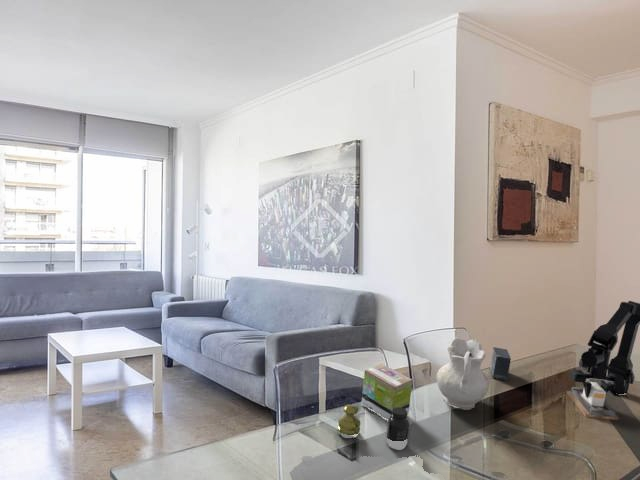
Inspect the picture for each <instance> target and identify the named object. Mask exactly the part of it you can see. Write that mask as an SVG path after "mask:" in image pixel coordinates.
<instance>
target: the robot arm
mask: <svg viewBox="0 0 640 480" xmlns="http://www.w3.org/2000/svg"><path fill="white" fill-rule="evenodd" d="M639 326H640V302H635V301H633V300H629V301H621V302H620V304H619V306H618V309H617V310H616V311H615V313H614V314H612V316H611V317H610V319H609V320H608V322H606V323H605V324H600V325H599V326H598V327H597V328H596V329H595V330H594V331H593V332H592V334H591V336H590V338H589V340H588V342H587V346H589V348H588V350H587V351H584V352H583V353H582V355H581V356H580V359H579V361H578V367H579V368H583V370H585V371H586V372H587V373H584V371H582V370H581V369H573V368H572V369H570V371H569V376H570V378H571V379H572V380H573V381H574V382H576V383H581V384H582V385H583V388H584V390H585V395H586V397H587V398H588V396H589V393H590V389H591V385H592V384H591V383H590V382H591V380H592V381H593V380H595V381H600V387H601V388H602V389H603V390H604V391H605V392H606V394H607V393H608V392H610V393H611V394H612V395H613V396H618V394H624V393H627V394H628V393H629V392H628V391H629V389H630V388H629V387H630V384H631V385H633V384H634V381H635V378H636V377H635V373H634V371H633V368H634V365H633V362H632V359H631V356H632V353H633V349H634V346H635V345H634V344H635V342H636V338H637V333H638V330H639ZM622 328H623V331H622V334H621V339H620V343H619V347H618V351H617V355H616V356H615V357H613V358H611V353H612V351H613V350H614V349H615V347H616V346H617V344H618V339H619V336H618V335H619V334H618V333H619V332H620V331H621V329H622ZM616 393H617V394H616Z"/></svg>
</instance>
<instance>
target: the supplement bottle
mask: <svg viewBox="0 0 640 480" xmlns="http://www.w3.org/2000/svg"><path fill="white" fill-rule="evenodd" d="M409 430H410V420H409V419H408V416H407V410H405V409H404V408H400V407H397V408H394V409H393V410H392V416H390V418H389V420H388V422H387V431H386V439H387V438H388V439H390V440H392V441H404V440H406V439H408V440H409V432H410V431H409Z"/></svg>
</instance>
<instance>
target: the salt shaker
mask: <svg viewBox="0 0 640 480" xmlns="http://www.w3.org/2000/svg"><path fill="white" fill-rule="evenodd" d="M342 409H343V410H342V411H343V412H344V413H345V414H344V415H342V416H340V417H339V418H338V421H337V422H338V425H337V432H338V431H339V432H340V433H343V434H347V435H354V434H358V433H359V434H360V433H361V432H360V430H361V424H362V423H361V419H359V417H357V416H356V414H357V413H359V408H358V407H357V406H356V405H354V404H347V405H344V406H343V407H342Z"/></svg>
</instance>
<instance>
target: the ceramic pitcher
mask: <svg viewBox="0 0 640 480" xmlns="http://www.w3.org/2000/svg"><path fill="white" fill-rule="evenodd" d="M447 351H448V354H449V361H448V363H446V364H444V365H443V366H442V365H441V367H440V368H439V370H438V371H437V373H436V383H437V384H436V385H437V386H438V387H437V388H438V390H439V391H440V393H441V394H442V396H444V399H443V401H444V402H447V403H446V404H448V405H449V404H450V405H453V406H456V407H472V406H474V405H475V404H478V403H479V402H481V401H483V399H484V398H485V397H486V396H487V394H488V392H489V389H490V380H489V377H488V376H487V374H486V373H485V372H484V371H483V370H482V369H481V365H482V363H483V361H484V360H485V358H486V356H487V354H486V352H485V351H484V350H483V348H482V343H480V341H479V340H478V339H477V338H476V339H475V338H470V340H468V341H467V340H465V339H463V338H461V337H458V336H457V337H455V338H454V339H452V341H451V342H450V346H448V347H447ZM450 405H449V406H450Z"/></svg>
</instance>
